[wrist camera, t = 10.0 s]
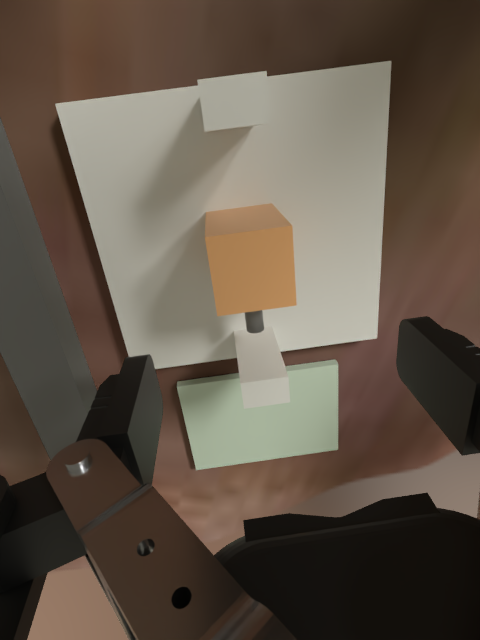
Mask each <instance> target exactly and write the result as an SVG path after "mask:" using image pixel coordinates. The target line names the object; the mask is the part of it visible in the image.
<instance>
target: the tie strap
mask: <svg viewBox="0 0 480 640" xmlns="http://www.w3.org/2000/svg"><path fill="white" fill-rule="evenodd" d="M0 353H1V355H2V357H3V359H4V361H5V364H6V366H7V368H8V370H9V372H10V374H11V376H12V379H13V381H14V383H15V385H16V387H17V389H18V391H19V394H20V396H21V398H22V400H23V402H24V404H25V406H26V409H27V411H28V413H29V415H30V417H31V419H32V421H33V423H34V426H35V428H36V430H37V432H38V434H39V436H40V438H41V441H42V443H43V445H44V447H45V449H46V451H47V453H48V456H49V458H50V460H52V458H53V457H54V456H55V455H56V454H57V453H58V452H59V451H61V450H62V449H63V448H65V447H67V446H68V445H70V444H72V443H75V442H76V440H77V438H78V436H79V433H80V431H81V429H82V426H83V424H84V422H85V419H86V417H87V415H88V412H89V410H91V405H92V403H93V400H95V396H96V393H97V390H96V387H95V384H94V381H93V378H92V376H91V373H90V370H89V367H88V364H87V361H86V359H85V356H84V353H83V350H82V347H81V344H80V342H79V339H78V336H77V333H76V330H75V327H74V325H73V322H72V319H71V316H70V313H69V310H68V308H67V305H66V302H65V299H64V296H63V293H62V291H61V288H60V285H59V282H58V279H57V276H56V274H55V271H54V268H53V265H52V262H51V259H50V257H49V254H48V251H47V248H46V245H45V243H44V240H43V237H42V234H41V231H40V228H39V226H38V223H37V220H36V217H35V214H34V211H33V209H32V206H31V203H30V200H29V197H28V194H27V192H26V189H25V186H24V183H23V180H22V177H21V175H20V172H19V169H18V166H17V163H16V160H15V158H14V155H13V152H12V149H11V146H10V143H9V141H8V138H7V135H6V132H5V129H4V126H3V124H2V121H1V118H0Z"/></svg>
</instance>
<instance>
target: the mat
mask: <svg viewBox="0 0 480 640" xmlns="http://www.w3.org/2000/svg"><path fill="white" fill-rule="evenodd" d="M285 368H286V371H287V374H288V377H289V391H290V402H289V403H282V404H275V405H268V406H261V407H254V408H246V409H244V405H243V398H242V391H241V384H240V376H239V373H234V374H227V375H220V376H213V377H206V378H199V379H191V380H184V381H177V390H178V394H179V399H180V403H181V407H182V411H183V416H184V420H185V424H186V428H187V433H188V437H189V441H190V445H191V450H192V454H193V458H194V463H195V467H196V470H200V469H207V468H214V467H221V466H228V465H235V464H242V463H249V462H256V461H263V460H270V459H277V458H284V457H291V456H298V455H305V454H312V453H319V452H326V451H333V450H338V363H337V361H336V360H335V359H334V360H327V361H320V362H313V363H306V364H299V365H291V366H285Z"/></svg>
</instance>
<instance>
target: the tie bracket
mask: <svg viewBox="0 0 480 640" xmlns="http://www.w3.org/2000/svg"><path fill="white" fill-rule="evenodd" d="M390 80H391V61H385V62H377V63H370V64H362V65H354V66H346V67H338V68H331V69H323V70H315V71H307V72H299V73H292V74H284V75H276V76H268V77H267V71H262V72H254V73H247V74H239V75H231V76H223V77H215V78H207V79H200V80H197V81H198V86H190V87H183V88H175V89H167V90H159V91H151V92H144V93H136V94H128V95H120V96H112V97H105V98H97V99H89V100H81V101H73V102H66V103H58V104H55V105H56V109H57V112H58V116H59V119H60V122H61V126H62V129H63V133H64V136H65V140H66V143H67V146H68V150H69V153H70V157H71V160H72V164H73V167H74V170H75V174H76V177H77V181H78V184H79V188H80V191H81V194H82V198H83V201H84V205H85V208H86V212H87V215H88V218H89V222H90V225H91V229H92V232H93V236H94V239H95V242H96V246H97V249H98V253H99V256H100V260H101V263H102V266H103V270H104V273H105V277H106V280H107V284H108V287H109V290H110V294H111V297H112V301H113V304H114V308H115V311H116V314H117V318H118V321H119V325H120V328H121V332H122V335H123V338H124V342H125V345H126V349H127V352H128V356H129V357H133V356H140V355H147V354H150V355H151V357H152V359H153V363H154V367H155V369H160V368H167V367H174V366H182V365H189V364H196V363H203V362H210V361H218V360H225V359H232V358H237V361H238V369H239V376H240V384H241V391H242V398H243V405H244V409H246V408H254V407H261V406H268V405H275V404H282V403H289V402H290V391H289V377H288V374H287V371H286V368H285V365H284V362H283V359H282V356H281V353H280V352H282V351H289V350H296V349H304V348H311V347H318V346H325V345H332V344H340V343H347V342H354V341H361V340H368V339H375V338H377V328H378V309H379V290H380V271H381V252H382V233H383V214H384V194H385V175H386V156H387V137H388V118H389V99H390ZM270 203H272V204H273V205H274V206H275V207H276V208H277V209H278V210H279V212H280V213H281V214H282V215H283V216H284V217H285V218H286V219H287V220H288V221H289V222H290V224H291V225H292V228H293V247H294V265H295V284H296V302H297V305H296V306H289V307H282V308H275V309H267V310H262V311H263V321H264V330H263V331H262V332H260V333H249V332H247V329H246V321H245V313H238V314H231V315H224V316H217V311H216V305H215V298H214V292H213V286H212V280H211V273H210V267H209V261H208V254H207V248H206V242H205V218H206V212H210V211H218V210H225V209H233V208H240V207H248V206H255V205H262V204H270Z"/></svg>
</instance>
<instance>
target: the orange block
mask: <svg viewBox="0 0 480 640" xmlns="http://www.w3.org/2000/svg"><path fill="white" fill-rule="evenodd" d="M205 242H206V248H207V254H208V261H209V267H210V273H211V280H212V286H213V292H214V298H215V305H216V311H217V316H224V315H231V314H238V313H245V321H246V329H247V332H249V333H260V332H262V331H263V330H264V321H263V311H262V310H267V309H275V308H282V307H289V306H296V305H297V302H296V284H295V265H294V247H293V228H292V225H291V224H290V222H289V221H288V220H287V219H286V218H285V217H284V216H283V215H282V214H281V213H280V212H279V210H278V209H277V208H276V207H275V206H274V205H273V204H272V203H270V204H262V205H255V206H248V207H240V208H233V209H225V210H218V211H210V212H206V218H205Z"/></svg>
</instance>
